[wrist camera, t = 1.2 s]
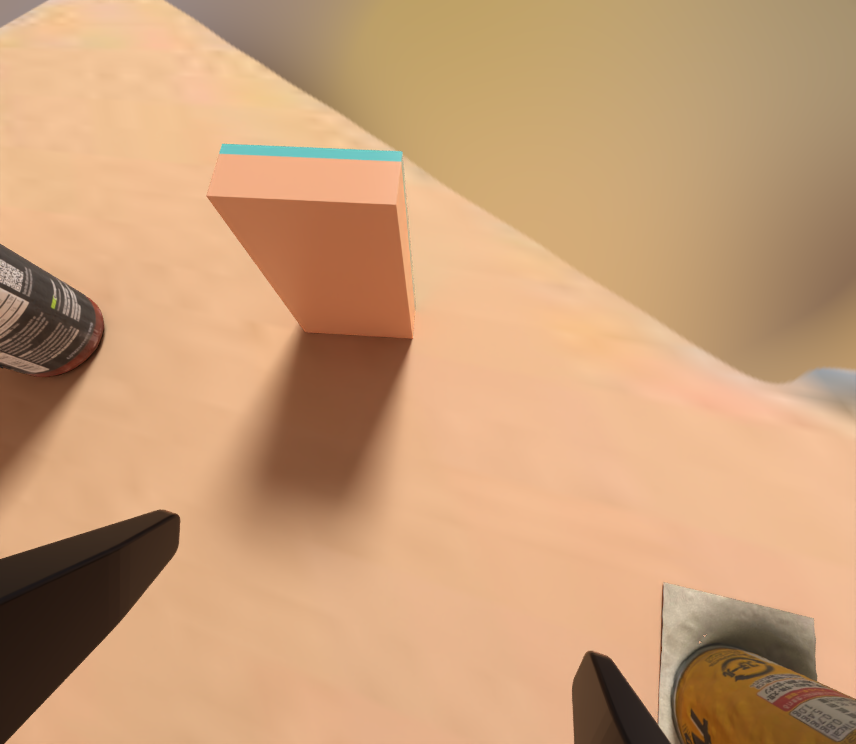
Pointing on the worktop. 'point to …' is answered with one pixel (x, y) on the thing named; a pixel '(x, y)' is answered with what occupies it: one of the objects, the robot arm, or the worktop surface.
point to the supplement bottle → (43, 320)
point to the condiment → (744, 676)
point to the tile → (324, 232)
